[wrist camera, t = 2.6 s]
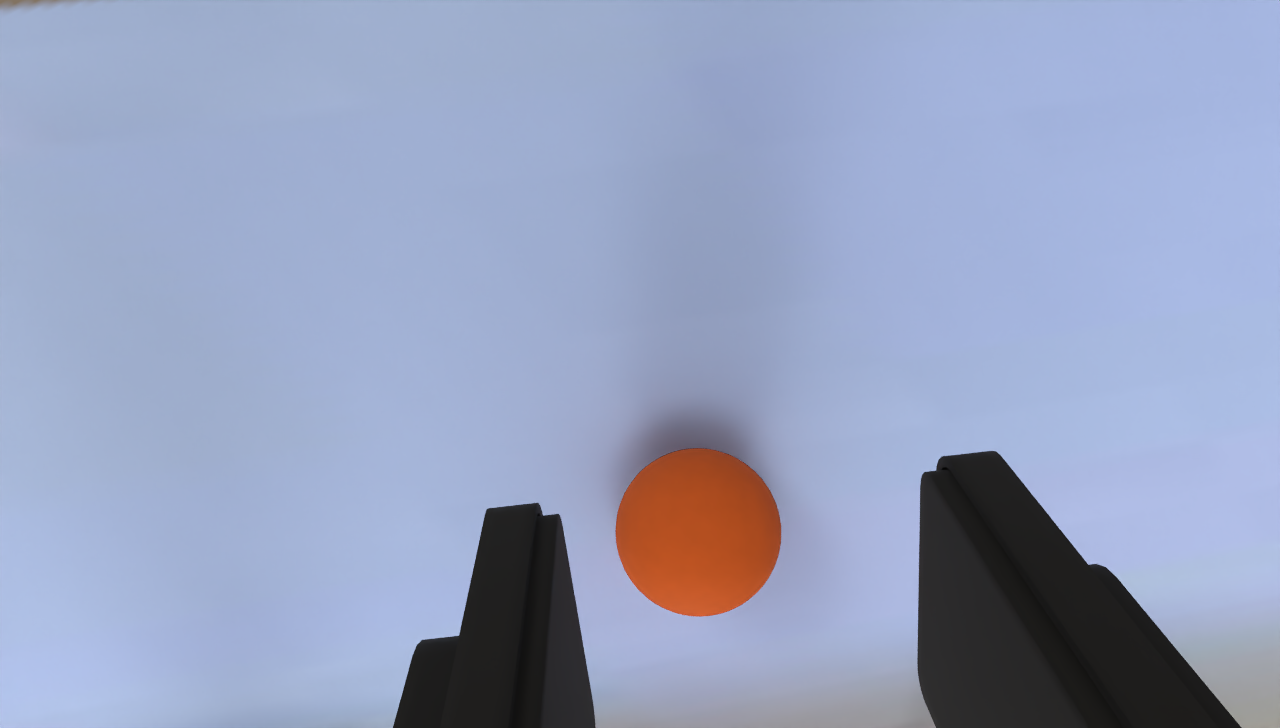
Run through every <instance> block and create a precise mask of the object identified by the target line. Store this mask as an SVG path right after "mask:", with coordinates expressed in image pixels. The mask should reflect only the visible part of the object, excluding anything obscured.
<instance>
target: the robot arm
mask: <svg viewBox="0 0 1280 728" xmlns="http://www.w3.org/2000/svg"><path fill="white" fill-rule="evenodd" d="M918 676H919V682H920V687H921V691H922V694H923V697H924V700H925V703H926V705H927V707H928V710H929V712H930V714H931V717H932V719H933V721H934V724H935V726H936V728H1241V727H1240V725H1239V724H1238V723H1237V722H1236V721H1235V719H1234V718H1233V717H1232V716H1231V715H1230V713H1229V712H1228V711H1227V710H1226V709H1225V707H1224V706H1223V705H1222V704H1221V703H1220V701H1219V700H1218V699H1217V698H1216V697H1215V695H1214V694H1213V693H1212V692H1211V691H1210V689H1209V688H1208V687H1207V686H1206V685H1205V683H1204V682H1203V681H1202V680H1201V679H1200V677H1199V676H1198V675H1197V674H1196V672H1195V671H1194V670H1193V669H1192V668H1191V666H1190V665H1189V664H1188V663H1187V662H1186V660H1185V659H1184V658H1183V657H1182V656H1181V654H1180V653H1179V652H1178V651H1177V650H1176V648H1175V647H1174V646H1173V645H1172V644H1171V642H1170V641H1169V640H1168V639H1167V638H1166V636H1165V635H1164V634H1163V633H1162V632H1161V630H1160V629H1159V628H1158V627H1157V626H1156V624H1155V623H1154V622H1153V621H1152V620H1151V618H1150V617H1149V616H1148V615H1147V613H1146V612H1145V611H1144V610H1143V609H1142V607H1141V606H1140V605H1139V604H1138V603H1137V601H1136V600H1135V599H1134V598H1133V597H1132V595H1131V594H1130V593H1129V592H1128V591H1127V589H1126V588H1125V587H1124V586H1123V585H1122V583H1121V582H1120V581H1119V580H1118V579H1117V577H1116V576H1115V575H1113V574H1112V573H1111V572H1110V571H1109V570H1108V569H1107V568H1106V567H1103V566H1100V565H1097V564H1092V565H1088V564H1087V563H1086V561H1085V560H1084V559H1083V558H1082V556H1081V555H1080V554H1079V553H1078V551H1077V550H1076V549H1075V548H1074V546H1073V545H1072V544H1071V543H1070V541H1069V540H1068V539H1067V538H1066V536H1065V535H1064V534H1063V533H1062V531H1061V530H1060V529H1059V528H1058V526H1057V525H1056V524H1055V523H1054V521H1053V520H1052V519H1051V518H1050V516H1049V515H1048V514H1047V513H1046V511H1045V510H1044V509H1043V508H1042V506H1041V505H1040V504H1039V503H1038V502H1037V500H1036V499H1035V498H1034V497H1033V495H1032V494H1031V493H1030V492H1029V490H1028V489H1027V488H1026V487H1025V485H1024V484H1023V483H1022V482H1021V480H1020V479H1019V478H1018V477H1017V475H1016V474H1015V473H1014V472H1013V470H1012V469H1011V468H1010V467H1009V465H1008V464H1007V463H1006V462H1005V460H1004V459H1003V458H1002V457H1001V455H999V454H998V453H997V452H996V451H987V452H978V453H969V454H961V455H952V456H943V457H941V458H940V459H939V461H938V464H937V469H936V471H930V472H924V473H923V474H922V478H921V486H920V545H919V605H918ZM393 728H595V716H594V707H593V700H592V694H591V688H590V683H589V677H588V671H587V665H586V659H585V654H584V648H583V642H582V636H581V630H580V625H579V619H578V613H577V607H576V601H575V596H574V590H573V584H572V578H571V572H570V567H569V561H568V555H567V549H566V543H565V538H564V532H563V526H562V521H561V518H560V515H559V514H554V515H545V516H543V514H542V510H541V507H540V505H539V503H532V504H523V505H515V506H506V507H497V508H489V509H487V511H486V514H485V518H484V522H483V527H482V532H481V536H480V541H479V546H478V550H477V555H476V560H475V564H474V569H473V574H472V578H471V583H470V588H469V593H468V597H467V602H466V607H465V611H464V616H463V621H462V625H461V630H460V635H459V636H454V637H445V638H436V639H427V640H422V641H421V642H420V643H419V644H418V645H417V646H416V649H415V651H414V654H413V657H412V660H411V664H410V668H409V671H408V675H407V679H406V682H405V686H404V690H403V693H402V697H401V700H400V704H399V708H398V711H397V715H396V719H395V722H394V726H393Z"/></svg>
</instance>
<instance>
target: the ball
mask: <svg viewBox="0 0 1280 728" xmlns="http://www.w3.org/2000/svg"><path fill="white" fill-rule="evenodd" d="M616 543H617V549H618V553H619V557H620V559H621V562H622V564H623V567H624V569H625V571H626V573H627V575H628V576H629V578H630V579H631V581H632V582H633V584H634V585H635V586H636V587H637V589H638V590H639V591H640V592H642V593H643V594H644V595H645V596H646V597H647V598H648V599H650V600H651V601H652V602H654V603H655V604H657V605H659V606H661V607H662V608H665V609H667V610H669V611H672V612H674V613H678V614H682V615H688V616H711V615H717V614H720V613H724V612H727V611H730V610H732V609H734V608H736V607H738V606H740V605H742V604H743V603H745V602H746V601H748V600H749V599H750V598H751V597H752V596H753V595H755V594H756V593H757V592H758V591H759V590H760V589H761V587H762V586H763V585H764V584H765V582H766V581H767V579H768V578H769V576H770V574H771V572H772V570H773V569H774V567H775V564H776V561H777V558H778V554H779V550H780V544H781V523H780V517H779V512H778V509H777V505H776V503H775V500H774V498H773V496H772V494H771V492H770V490H769V488H768V487H767V486H766V484H765V483H764V481H763V480H762V479H761V478H760V476H759V475H758V474H757V473H756V472H755V471H754V470H753V469H751V468H750V467H749V466H748V465H746V464H745V463H744V462H742V461H740V460H739V459H737V458H735V457H733V456H731V455H729V454H726V453H723V452H719V451H716V450H711V449H702V448H693V449H684V450H679V451H675V452H672V453H669V454H667V455H664V456H662V457H660V458H658V459H657V460H655V461H653V462H652V463H650V464H649V465H648V466H646V467H645V468H644V469H643V470H642V471H641V472H640V473H639V474H638V475H637V476H636V477H635V478H634V480H633V481H632V482H631V484H630V485H629V487H628V488H627V490H626V492H625V493H624V496H623V498H622V501H621V503H620V506H619V510H618V514H617V521H616Z"/></svg>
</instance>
